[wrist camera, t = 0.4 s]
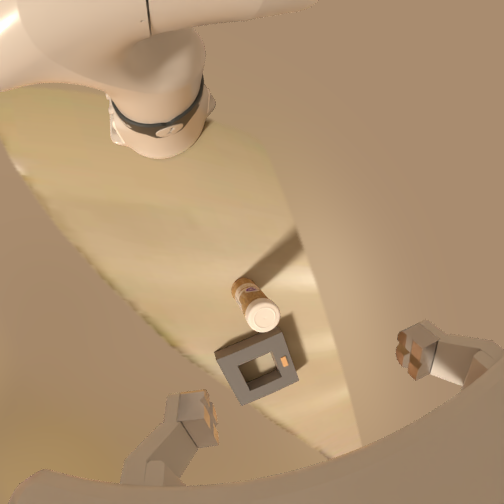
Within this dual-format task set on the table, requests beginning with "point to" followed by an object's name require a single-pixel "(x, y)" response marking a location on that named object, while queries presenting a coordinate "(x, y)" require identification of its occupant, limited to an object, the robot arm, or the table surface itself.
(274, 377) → the square frame
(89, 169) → the table surface
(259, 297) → the sprinkles bottle
